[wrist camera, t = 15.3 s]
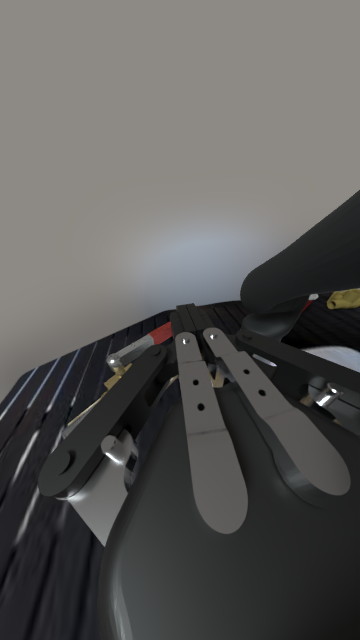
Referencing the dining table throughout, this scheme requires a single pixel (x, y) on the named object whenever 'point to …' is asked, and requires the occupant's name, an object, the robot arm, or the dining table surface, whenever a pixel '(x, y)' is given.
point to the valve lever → (138, 347)
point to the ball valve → (344, 299)
